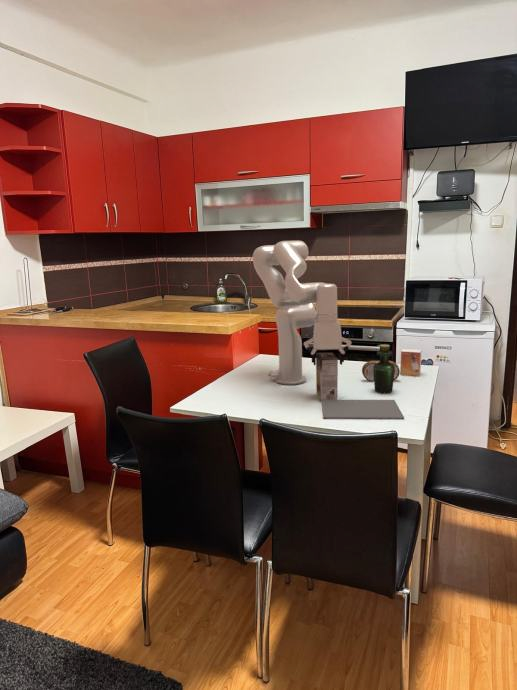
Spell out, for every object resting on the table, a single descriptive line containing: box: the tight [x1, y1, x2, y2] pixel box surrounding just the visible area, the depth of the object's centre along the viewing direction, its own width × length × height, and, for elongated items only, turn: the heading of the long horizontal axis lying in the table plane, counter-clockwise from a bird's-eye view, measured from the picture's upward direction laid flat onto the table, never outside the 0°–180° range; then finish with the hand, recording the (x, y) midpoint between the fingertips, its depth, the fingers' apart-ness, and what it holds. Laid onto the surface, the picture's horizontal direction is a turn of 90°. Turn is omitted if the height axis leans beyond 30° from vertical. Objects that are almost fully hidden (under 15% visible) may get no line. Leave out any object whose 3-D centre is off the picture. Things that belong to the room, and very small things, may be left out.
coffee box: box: [315, 352, 339, 402], centre depth 182 cm, size 9×6×16 cm
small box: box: [399, 348, 422, 377], centre depth 209 cm, size 8×6×10 cm
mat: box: [321, 399, 405, 420], centre depth 169 cm, size 26×18×1 cm
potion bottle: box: [373, 343, 395, 395], centre depth 187 cm, size 8×8×18 cm
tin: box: [361, 360, 400, 382], centre depth 201 cm, size 15×3×8 cm, turn 84°
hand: (327, 364), depth 181 cm, fingers open, 9 cm apart
